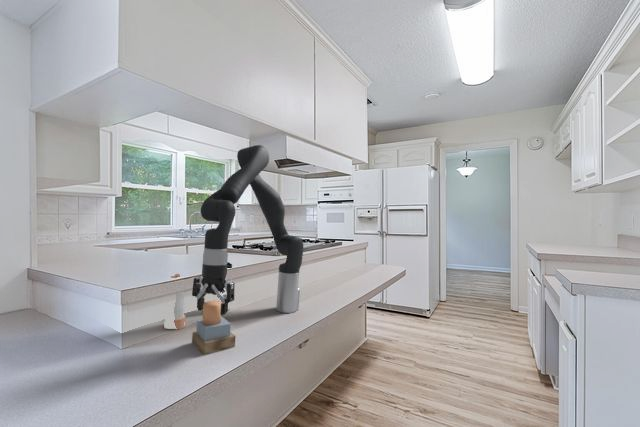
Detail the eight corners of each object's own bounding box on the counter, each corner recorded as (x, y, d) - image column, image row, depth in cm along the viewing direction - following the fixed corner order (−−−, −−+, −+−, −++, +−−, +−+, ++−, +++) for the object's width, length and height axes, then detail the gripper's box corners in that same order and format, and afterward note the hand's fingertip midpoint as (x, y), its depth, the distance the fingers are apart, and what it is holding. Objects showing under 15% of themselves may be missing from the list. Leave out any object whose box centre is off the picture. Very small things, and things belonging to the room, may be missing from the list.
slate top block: (220, 327, 108) (221, 315, 108) (229, 336, 102) (230, 323, 102) (196, 332, 103) (197, 319, 103) (204, 341, 97) (205, 328, 97)
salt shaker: (174, 321, 120) (177, 270, 119) (189, 324, 117) (192, 273, 117) (158, 327, 113) (161, 274, 113) (174, 331, 111) (177, 277, 110)
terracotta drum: (216, 317, 106) (217, 299, 106) (223, 323, 102) (224, 304, 101) (199, 321, 102) (200, 302, 102) (206, 326, 98) (207, 307, 98)
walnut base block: (220, 337, 110) (221, 325, 110) (234, 348, 102) (235, 335, 102) (191, 344, 103) (192, 332, 103) (204, 356, 95) (205, 343, 95)
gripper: (188, 261, 100) (185, 312, 100) (227, 266, 95) (224, 320, 96) (204, 257, 107) (201, 305, 107) (240, 262, 102) (237, 312, 103)
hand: (211, 312), depth 101 cm, fingers open, 8 cm apart
